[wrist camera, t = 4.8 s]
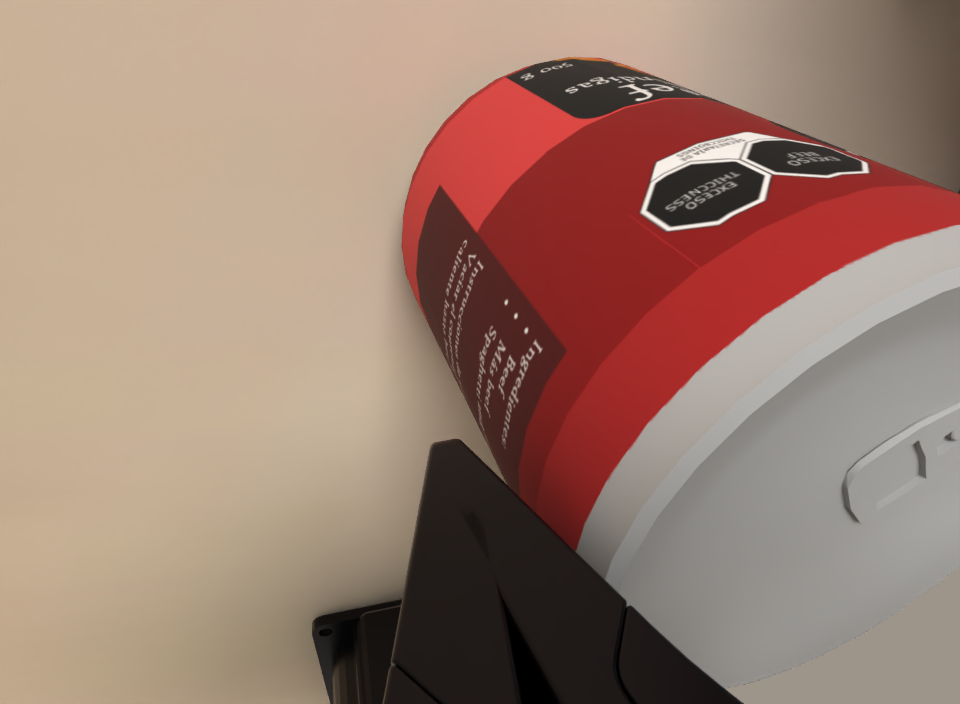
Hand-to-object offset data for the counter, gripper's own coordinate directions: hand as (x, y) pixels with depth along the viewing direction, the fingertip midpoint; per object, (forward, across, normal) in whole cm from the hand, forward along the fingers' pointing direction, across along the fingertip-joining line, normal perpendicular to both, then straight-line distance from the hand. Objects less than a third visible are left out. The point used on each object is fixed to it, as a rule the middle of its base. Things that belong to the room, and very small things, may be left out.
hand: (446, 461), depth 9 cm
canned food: (+9, -4, 0) cm, 10 cm away
